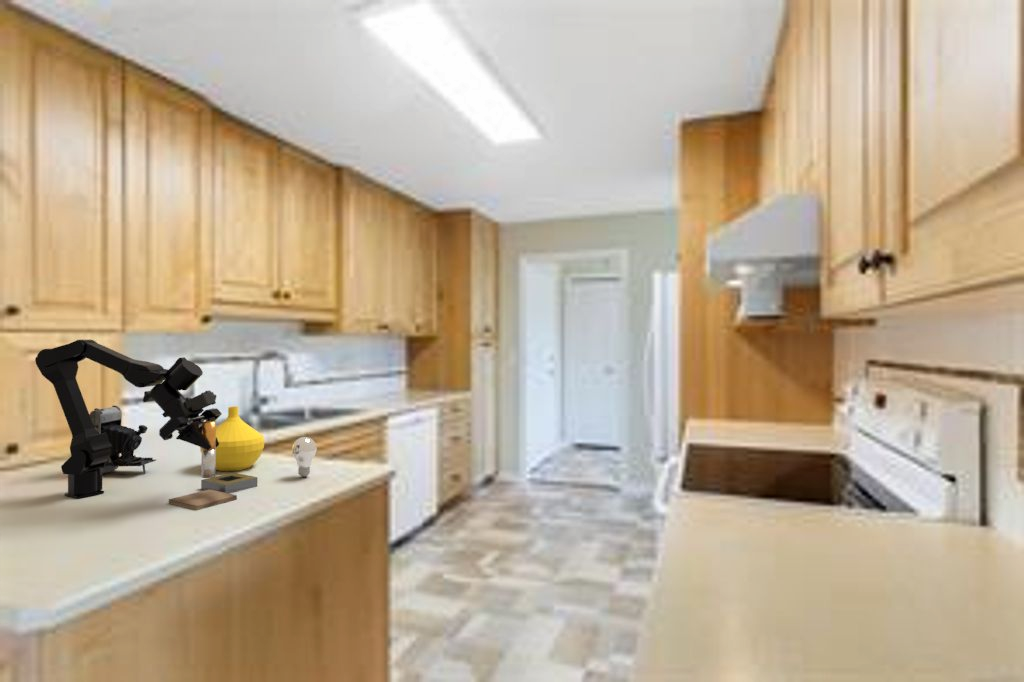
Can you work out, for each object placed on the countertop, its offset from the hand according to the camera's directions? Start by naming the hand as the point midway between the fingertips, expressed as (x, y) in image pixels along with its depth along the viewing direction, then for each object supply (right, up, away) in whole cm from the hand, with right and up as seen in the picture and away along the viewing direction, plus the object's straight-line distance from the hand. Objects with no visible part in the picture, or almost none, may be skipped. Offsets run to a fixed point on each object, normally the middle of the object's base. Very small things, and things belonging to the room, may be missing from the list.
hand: (213, 447), depth 154 cm
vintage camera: (-40, -13, +25) cm, 49 cm away
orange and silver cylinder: (-1, -8, 0) cm, 8 cm away
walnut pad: (-2, -13, -2) cm, 14 cm away
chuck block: (-2, -13, +12) cm, 18 cm away
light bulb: (+14, -14, +25) cm, 32 cm away
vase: (-12, -13, +35) cm, 39 cm away
